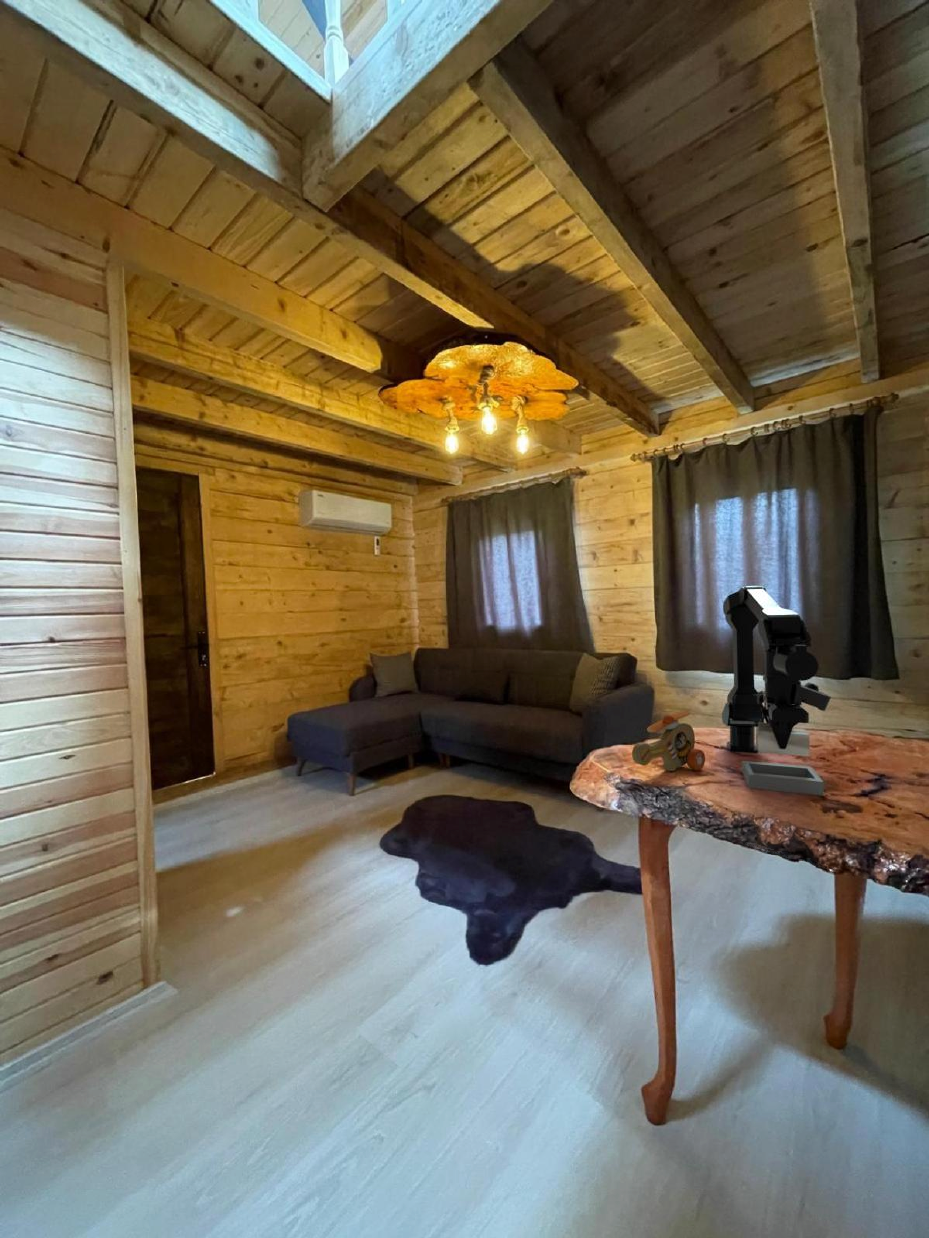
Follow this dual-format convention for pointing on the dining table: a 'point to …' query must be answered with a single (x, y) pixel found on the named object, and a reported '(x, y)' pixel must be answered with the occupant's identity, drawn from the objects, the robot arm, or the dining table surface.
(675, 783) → the dining table surface
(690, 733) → the toy helicopter
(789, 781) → the cradle
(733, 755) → the dining table surface
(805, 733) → the white block with tab
